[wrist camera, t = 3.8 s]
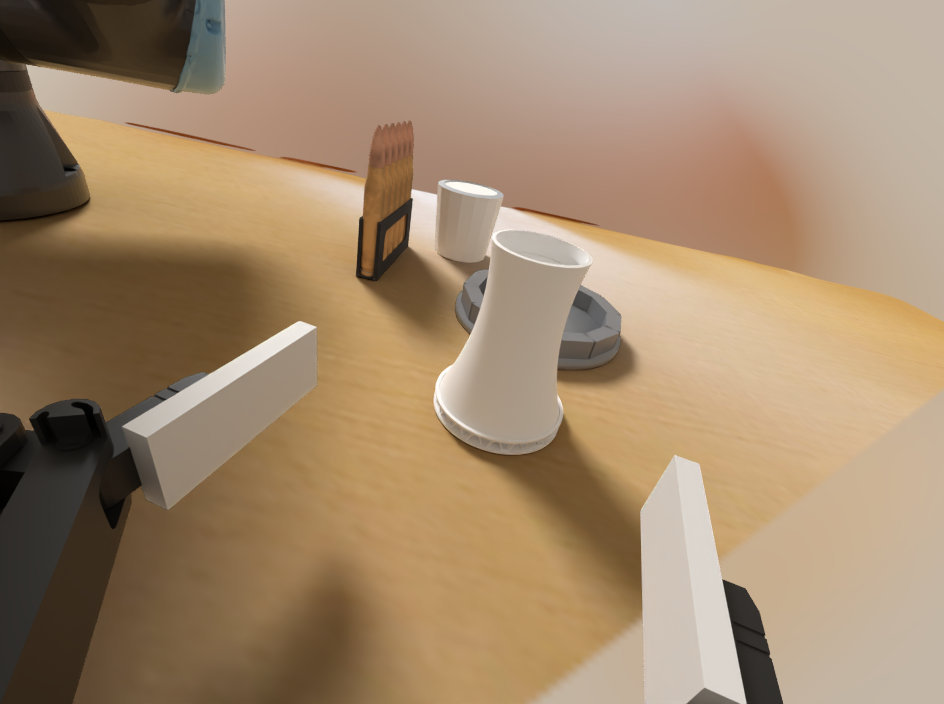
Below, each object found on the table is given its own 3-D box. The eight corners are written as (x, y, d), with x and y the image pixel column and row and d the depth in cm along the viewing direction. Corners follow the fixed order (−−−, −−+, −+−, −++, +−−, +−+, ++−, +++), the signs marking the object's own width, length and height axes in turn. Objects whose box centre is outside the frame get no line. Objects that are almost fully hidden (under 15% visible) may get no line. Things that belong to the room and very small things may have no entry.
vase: (452, 463, 21) (497, 275, 16) (421, 372, 27) (445, 214, 22) (581, 448, 24) (655, 284, 18) (527, 369, 29) (571, 227, 24)
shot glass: (484, 246, 51) (497, 185, 47) (495, 268, 45) (510, 201, 41) (427, 238, 49) (435, 175, 46) (430, 260, 44) (441, 189, 40)
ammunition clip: (376, 282, 37) (387, 128, 31) (355, 277, 37) (362, 123, 31) (408, 245, 46) (422, 122, 40) (391, 242, 46) (402, 117, 40)
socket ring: (428, 329, 31) (432, 304, 30) (483, 273, 43) (487, 253, 42) (615, 393, 29) (627, 368, 28) (619, 315, 41) (628, 295, 40)
